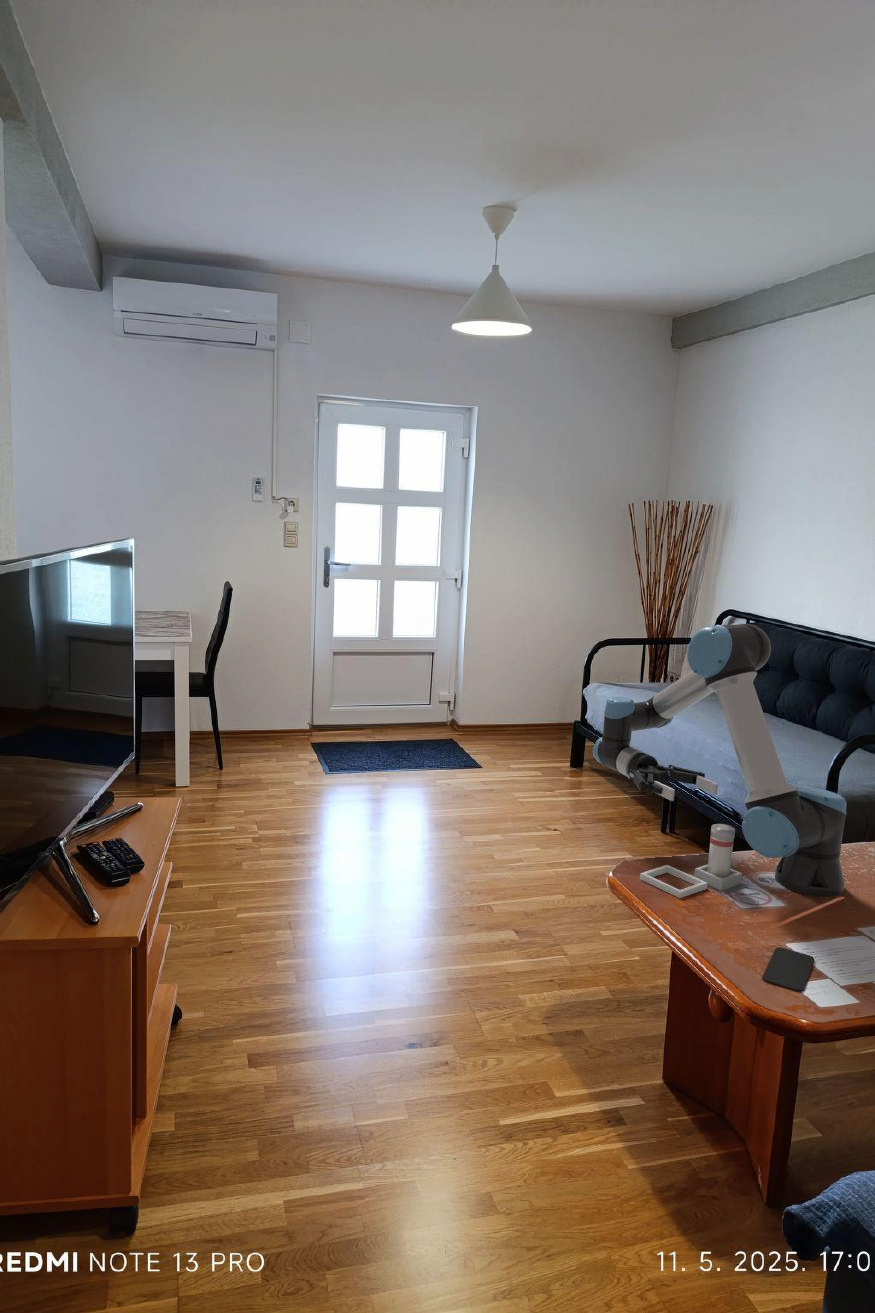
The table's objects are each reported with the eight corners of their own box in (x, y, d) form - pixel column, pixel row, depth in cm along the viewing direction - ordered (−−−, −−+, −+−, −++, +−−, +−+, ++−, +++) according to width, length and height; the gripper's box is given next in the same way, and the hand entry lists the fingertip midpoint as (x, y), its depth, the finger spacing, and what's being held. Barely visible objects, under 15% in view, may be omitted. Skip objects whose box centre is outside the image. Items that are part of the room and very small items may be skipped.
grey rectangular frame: (706, 891, 206) (707, 882, 206) (679, 900, 200) (680, 892, 200) (666, 872, 215) (667, 864, 215) (639, 881, 209) (640, 873, 209)
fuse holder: (749, 887, 209) (750, 875, 208) (725, 896, 203) (726, 883, 203) (709, 870, 217) (710, 858, 217) (685, 879, 212) (687, 866, 212)
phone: (760, 979, 168) (776, 946, 181) (760, 983, 168) (775, 949, 181) (803, 991, 164) (815, 957, 177) (802, 995, 164) (815, 960, 177)
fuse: (733, 882, 210) (739, 829, 208) (720, 887, 207) (726, 834, 204) (715, 874, 214) (720, 822, 212) (701, 879, 211) (706, 826, 209)
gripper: (673, 775, 241) (731, 801, 222) (597, 784, 230) (652, 813, 211) (676, 748, 239) (735, 772, 221) (600, 756, 228) (655, 782, 210)
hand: (695, 792), depth 216 cm, fingers open, 13 cm apart
